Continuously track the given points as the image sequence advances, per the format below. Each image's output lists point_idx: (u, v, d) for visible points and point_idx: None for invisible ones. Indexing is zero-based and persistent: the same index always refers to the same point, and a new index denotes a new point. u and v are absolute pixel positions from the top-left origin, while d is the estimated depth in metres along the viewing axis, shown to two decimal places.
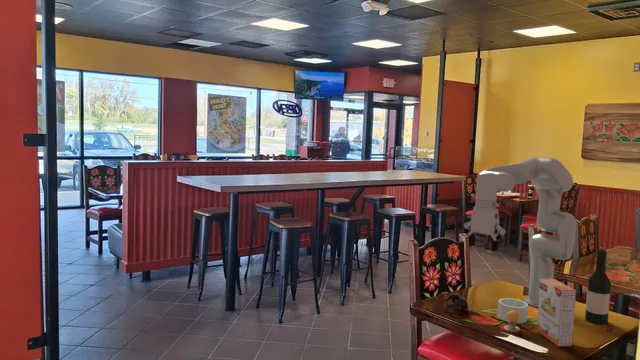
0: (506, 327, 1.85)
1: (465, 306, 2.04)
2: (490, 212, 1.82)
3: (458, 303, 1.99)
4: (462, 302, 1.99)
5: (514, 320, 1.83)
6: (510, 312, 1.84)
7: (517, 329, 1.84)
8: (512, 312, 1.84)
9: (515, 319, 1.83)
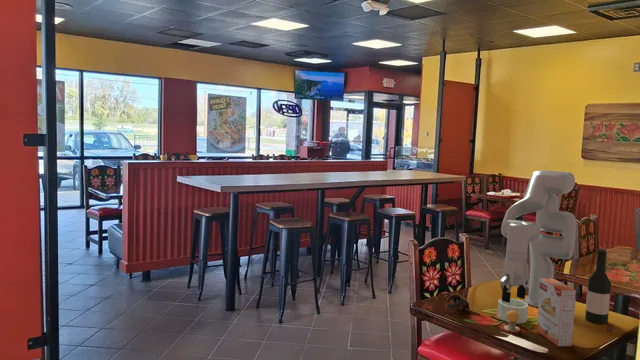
0: (506, 327, 1.85)
1: (466, 306, 2.04)
2: (526, 262, 1.83)
3: (459, 303, 1.98)
4: (463, 302, 1.99)
5: (514, 320, 1.83)
6: (510, 312, 1.84)
7: (517, 329, 1.84)
8: (512, 312, 1.84)
9: (515, 319, 1.83)
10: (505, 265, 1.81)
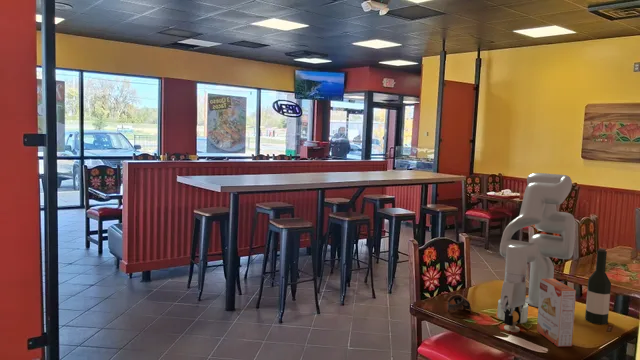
0: (506, 327, 1.85)
1: (467, 306, 2.04)
2: (525, 283, 1.84)
3: (461, 303, 1.98)
4: (465, 302, 1.99)
5: (514, 320, 1.83)
6: None
7: (517, 329, 1.84)
8: None
9: (515, 319, 1.83)
10: (504, 287, 1.82)
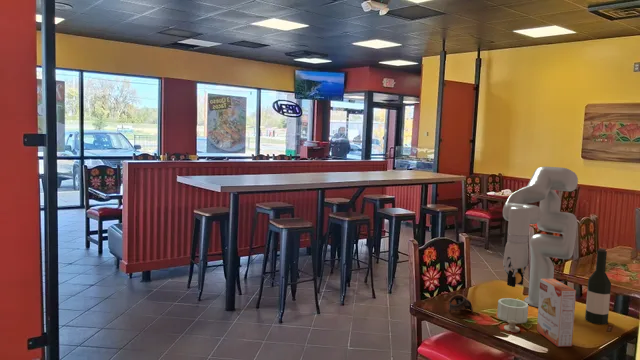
0: (506, 327, 1.85)
1: (469, 307, 2.04)
2: (527, 244, 1.85)
3: (462, 304, 1.98)
4: (466, 303, 1.99)
5: (517, 281, 1.84)
6: None
7: (517, 329, 1.84)
8: (515, 273, 1.85)
9: (518, 280, 1.84)
10: (507, 248, 1.83)
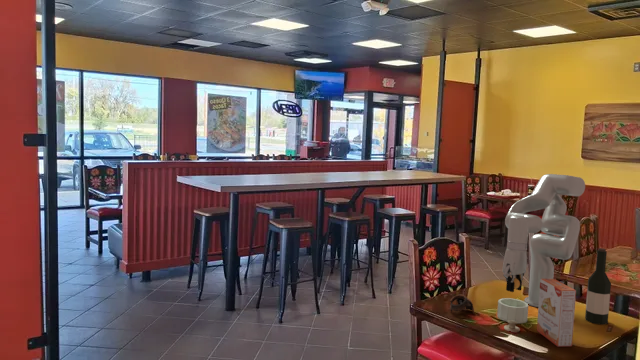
0: (506, 327, 1.85)
1: (470, 307, 2.03)
2: (526, 252, 1.95)
3: (463, 304, 1.98)
4: (467, 303, 1.99)
5: (515, 287, 1.94)
6: None
7: (517, 329, 1.84)
8: None
9: (516, 286, 1.94)
10: (506, 255, 1.93)
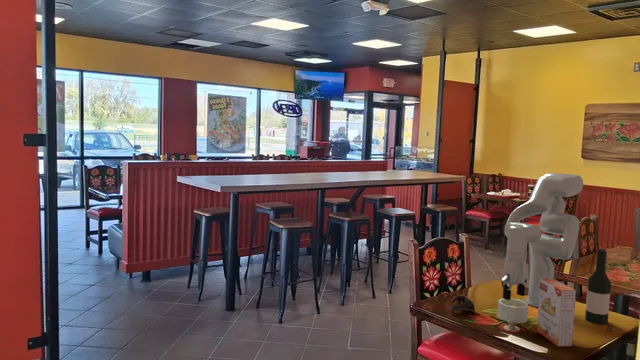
0: (506, 327, 1.85)
1: (471, 307, 2.03)
2: (525, 262, 1.95)
3: (465, 304, 1.98)
4: (469, 303, 1.98)
5: None
6: None
7: (517, 329, 1.84)
8: None
9: None
10: (506, 265, 1.94)
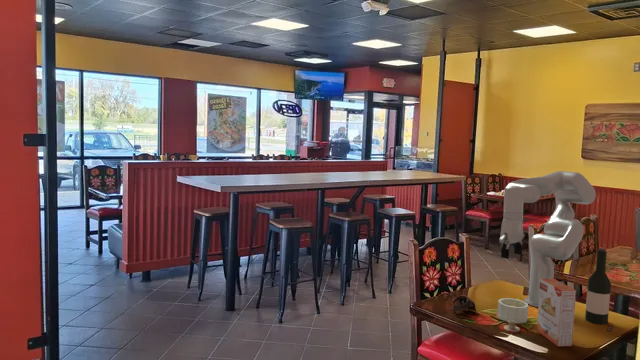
0: (506, 327, 1.85)
1: (472, 307, 2.03)
2: (522, 221, 2.00)
3: (466, 304, 1.97)
4: (470, 303, 1.98)
5: None
6: None
7: (517, 329, 1.84)
8: None
9: None
10: (503, 225, 1.98)
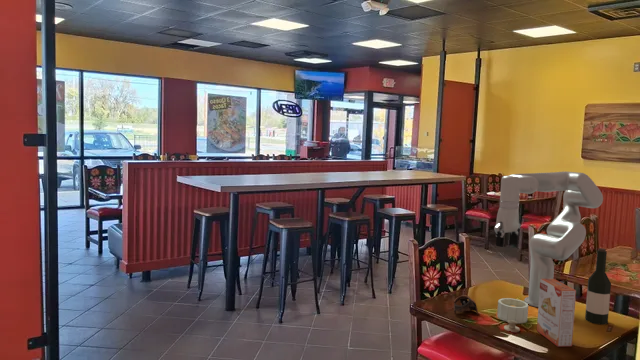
0: (506, 327, 1.85)
1: (474, 307, 2.03)
2: (518, 211, 2.03)
3: (467, 305, 1.97)
4: (471, 304, 1.98)
5: None
6: None
7: (517, 329, 1.84)
8: None
9: None
10: (499, 213, 2.01)
